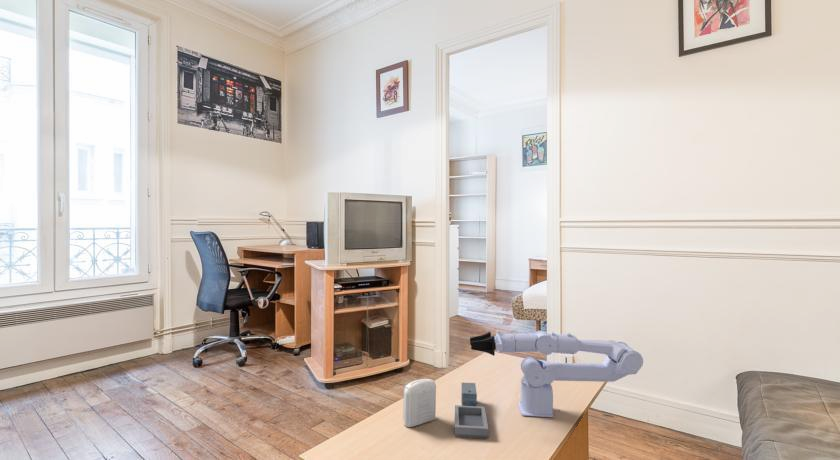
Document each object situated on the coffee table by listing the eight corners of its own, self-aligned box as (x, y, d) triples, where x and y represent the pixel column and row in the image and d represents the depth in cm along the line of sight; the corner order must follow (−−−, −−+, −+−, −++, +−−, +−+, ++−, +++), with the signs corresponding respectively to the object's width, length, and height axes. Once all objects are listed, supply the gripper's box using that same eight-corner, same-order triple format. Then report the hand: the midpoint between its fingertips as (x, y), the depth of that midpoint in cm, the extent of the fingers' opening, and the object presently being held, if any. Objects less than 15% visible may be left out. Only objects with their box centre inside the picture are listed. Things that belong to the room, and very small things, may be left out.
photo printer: (429, 413, 119) (430, 374, 119) (437, 419, 115) (438, 379, 115) (400, 423, 113) (401, 381, 113) (408, 429, 110) (409, 386, 109)
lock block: (474, 400, 128) (475, 382, 128) (476, 412, 120) (476, 393, 120) (461, 400, 128) (461, 382, 128) (462, 412, 120) (462, 393, 120)
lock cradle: (484, 415, 118) (484, 406, 118) (488, 438, 106) (488, 428, 106) (454, 414, 119) (454, 405, 119) (455, 436, 106) (455, 426, 106)
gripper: (509, 326, 129) (469, 327, 130) (516, 333, 115) (470, 334, 116) (511, 348, 128) (470, 348, 130) (518, 357, 114) (472, 358, 115)
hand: (470, 343), depth 123 cm, fingers open, 7 cm apart
